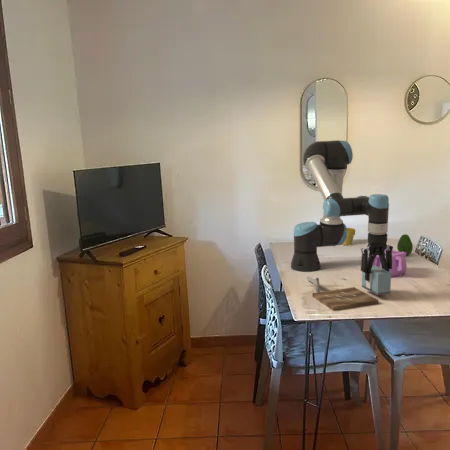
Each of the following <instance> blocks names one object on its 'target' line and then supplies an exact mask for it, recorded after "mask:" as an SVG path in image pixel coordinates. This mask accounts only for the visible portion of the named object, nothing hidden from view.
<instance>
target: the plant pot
mask: <svg viewBox="0 0 450 450" xmlns="http://www.w3.org/2000/svg"><path fill="white" fill-rule="evenodd" d="M346 228H347V229H346V230H347V237H346V240H345V242H344V243H343V244H341V245H342V246H351V245H352V244H353V241H354V237H355V235H356V229H355V228H352V227H346ZM341 245H340V246H341Z"/></svg>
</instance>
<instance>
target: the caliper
mask: <svg viewBox="0 0 450 450" xmlns="http://www.w3.org/2000/svg"><path fill="white" fill-rule="evenodd" d="M306 280H307V281H308V282H311V283H312V284H313V286H315V291H316V293H317V292H321V291H320V278H319V277H315V278H312V277H310V276H306Z"/></svg>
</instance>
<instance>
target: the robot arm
mask: <svg viewBox="0 0 450 450" xmlns="http://www.w3.org/2000/svg"><path fill="white" fill-rule="evenodd" d="M353 155H354V154H353V149H352V146H351V144H350V143H349V142H348V141H347V140H339V139H338V140H320V141H319V140H318V141H314V142H312V143H310V145H308V146H307V147H306V149H305V151H304V152H303V155H302V156H303V157H302V158H303V159H302V162H303V164H304V166H305V169H306V170H307V171H308V172H309V173H310V174H311V176H312V178H313V180H314V182H315V184H316V186H317V188H318V190H319V192H320V194H321V196H322V198H323V202H322V210H323V212H322V213H323V214H322V216H323V217H322V218H320V220H319V223H317V222H316V221H305V222H301V223H297V224H296V225H294V227H293V234H292V235H293V256H292V258H291V261H290V268H291V269H292V270H294V271H296V272H297V271H299V272H315V271H318V270H320V269H321V262H320V258H319V255H318V248H322V247H336V246H341V244H343V243H344V242H345V240H346V237H347V230H346V229H347V228H348V227H347V226H346V225H347V224H345V222H344V220H343V219H342V218H341V217H348V216H364V215H365V216H368V221H367V223H368V224H367V232H368V233H367V243H368V244H367V246H366V247H365V248H364V247H361V249H360V251H361V263H360V272H364V273H365V280H366V287H367V288H369V289H372V273H370V272H371V269H372V266H373V262H374V259H375V258H376V256H377V255H379V258H380V262H381V266H382V269H385V270H387V271H389V269H392V250H394V246H392V245H390V244H387V242H388V232H389V231H388V229H389V228H388V225H389V211H390V210H389V209H390V203H389V201H390V200H389V199H390V198H389V196H388V195H387V194H376V193H374V194H370V195H369V196H367V195H359V196H356V197H344V196H343V184H344V172H345V171H346V170H347V169H348V165H350V164H351V163H352V162H353V158H354V156H353ZM385 249H386V258H385Z"/></svg>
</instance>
